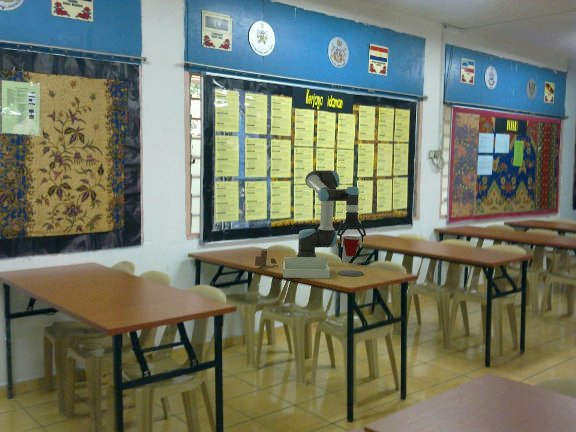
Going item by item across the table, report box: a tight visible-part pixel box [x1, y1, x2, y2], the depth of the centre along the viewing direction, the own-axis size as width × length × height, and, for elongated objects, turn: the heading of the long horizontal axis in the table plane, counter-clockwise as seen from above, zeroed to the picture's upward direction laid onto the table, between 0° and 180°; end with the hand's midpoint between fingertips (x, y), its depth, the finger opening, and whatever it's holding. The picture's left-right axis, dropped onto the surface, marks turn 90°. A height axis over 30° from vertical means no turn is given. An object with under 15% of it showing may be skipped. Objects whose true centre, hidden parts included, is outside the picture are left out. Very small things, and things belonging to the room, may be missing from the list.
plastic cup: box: [342, 235, 360, 257], centre depth 374 cm, size 11×11×12 cm
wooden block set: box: [254, 249, 278, 267], centre depth 399 cm, size 18×9×10 cm, turn 145°
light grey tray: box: [282, 256, 331, 279], centre depth 375 cm, size 28×28×8 cm
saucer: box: [337, 269, 365, 278], centre depth 375 cm, size 16×16×1 cm
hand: (351, 247), depth 374 cm, fingers closed on plastic cup, 11 cm apart
